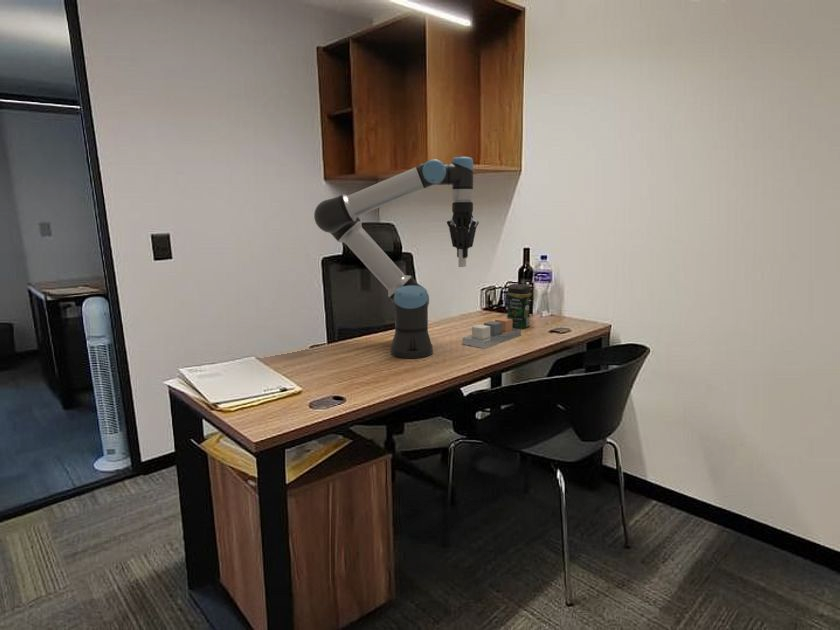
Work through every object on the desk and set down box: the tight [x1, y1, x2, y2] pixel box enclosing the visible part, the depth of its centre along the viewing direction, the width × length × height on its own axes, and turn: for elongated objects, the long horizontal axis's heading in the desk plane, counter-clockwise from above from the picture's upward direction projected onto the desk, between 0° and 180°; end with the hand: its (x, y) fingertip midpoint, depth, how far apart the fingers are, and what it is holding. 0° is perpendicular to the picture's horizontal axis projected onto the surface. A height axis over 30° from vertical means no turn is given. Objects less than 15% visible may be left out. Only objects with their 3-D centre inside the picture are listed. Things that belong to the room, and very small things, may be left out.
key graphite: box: [483, 320, 502, 336], centre depth 202 cm, size 5×5×5 cm
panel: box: [462, 327, 522, 349], centre depth 202 cm, size 26×10×2 cm, turn 139°
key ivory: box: [471, 324, 490, 340], centre depth 196 cm, size 5×5×5 cm
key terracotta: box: [494, 317, 513, 332], centre depth 208 cm, size 5×5×5 cm
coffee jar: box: [506, 283, 532, 329], centre depth 222 cm, size 10×8×19 cm
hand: (462, 266), depth 192 cm, fingers closed
